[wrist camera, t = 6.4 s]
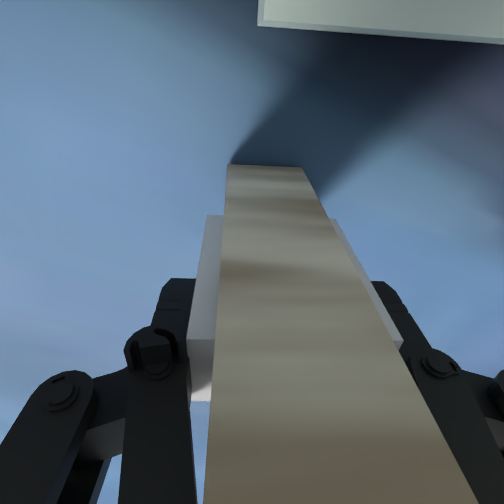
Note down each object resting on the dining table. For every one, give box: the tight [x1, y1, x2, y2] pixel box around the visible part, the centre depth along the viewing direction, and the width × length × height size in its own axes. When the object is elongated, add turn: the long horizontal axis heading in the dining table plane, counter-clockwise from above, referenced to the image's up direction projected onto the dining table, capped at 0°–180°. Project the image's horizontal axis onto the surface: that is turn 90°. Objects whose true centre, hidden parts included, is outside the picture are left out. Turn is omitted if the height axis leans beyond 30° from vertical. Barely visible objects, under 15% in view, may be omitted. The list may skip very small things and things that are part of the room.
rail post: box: [203, 164, 479, 504], centre depth 10 cm, size 4×4×18 cm
